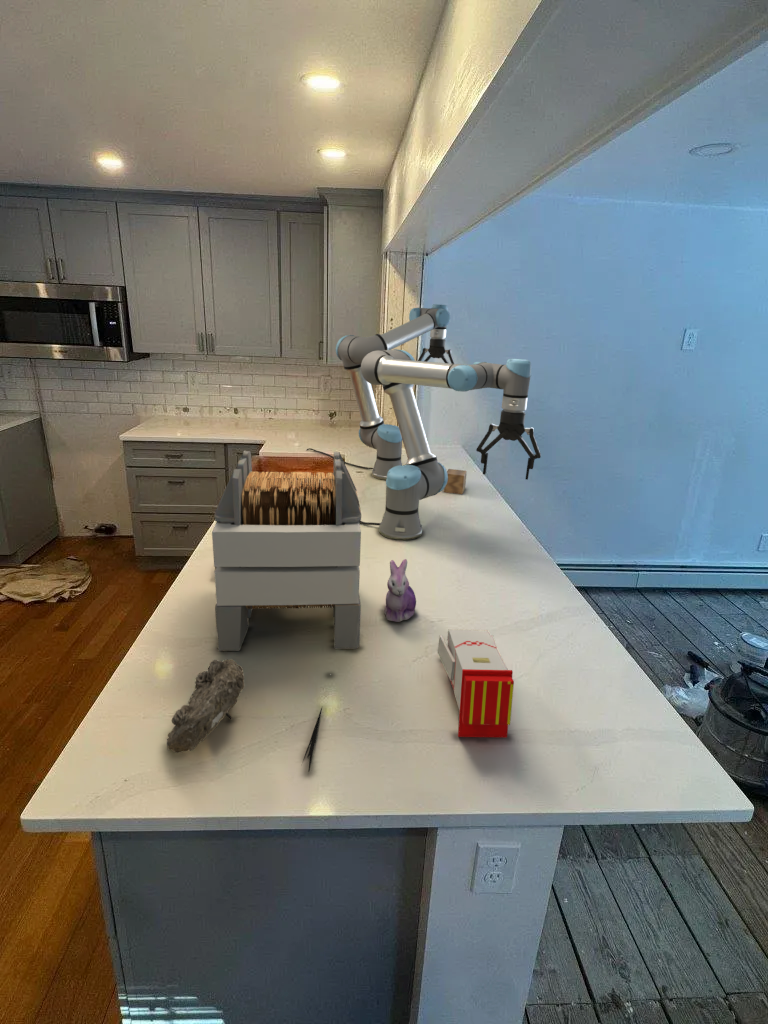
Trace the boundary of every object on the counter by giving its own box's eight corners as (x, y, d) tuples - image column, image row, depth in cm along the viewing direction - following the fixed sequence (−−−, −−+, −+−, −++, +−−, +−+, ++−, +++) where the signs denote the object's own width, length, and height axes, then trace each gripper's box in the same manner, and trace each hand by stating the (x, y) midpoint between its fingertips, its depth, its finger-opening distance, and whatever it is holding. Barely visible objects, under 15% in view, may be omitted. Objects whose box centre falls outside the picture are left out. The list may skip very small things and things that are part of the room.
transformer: (235, 584, 159) (228, 441, 145) (352, 582, 163) (356, 443, 149) (215, 653, 127) (203, 479, 113) (360, 649, 131) (366, 481, 117)
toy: (488, 613, 130) (523, 677, 101) (484, 667, 133) (517, 744, 104) (435, 612, 130) (455, 676, 101) (432, 666, 133) (451, 743, 103)
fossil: (192, 660, 117) (244, 628, 112) (224, 691, 120) (276, 661, 115) (142, 746, 98) (202, 712, 93) (182, 779, 101) (242, 748, 96)
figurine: (392, 627, 141) (395, 572, 136) (374, 608, 149) (376, 556, 144) (425, 619, 145) (429, 566, 140) (405, 601, 154) (408, 550, 149)
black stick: (331, 679, 122) (336, 673, 122) (307, 777, 96) (313, 769, 95) (324, 675, 122) (329, 669, 121) (298, 772, 95) (304, 764, 95)
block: (443, 492, 248) (445, 473, 245) (447, 486, 256) (448, 468, 253) (462, 494, 246) (464, 475, 243) (465, 488, 254) (466, 470, 251)
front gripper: (472, 408, 176) (465, 474, 184) (554, 416, 170) (544, 483, 178) (475, 405, 183) (468, 468, 191) (554, 412, 177) (545, 477, 184)
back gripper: (411, 337, 274) (408, 381, 281) (462, 340, 268) (458, 385, 275) (414, 336, 281) (411, 380, 288) (464, 339, 275) (460, 384, 282)
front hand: (505, 475), depth 184 cm, fingers open, 13 cm apart
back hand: (434, 383), depth 281 cm, fingers open, 13 cm apart
